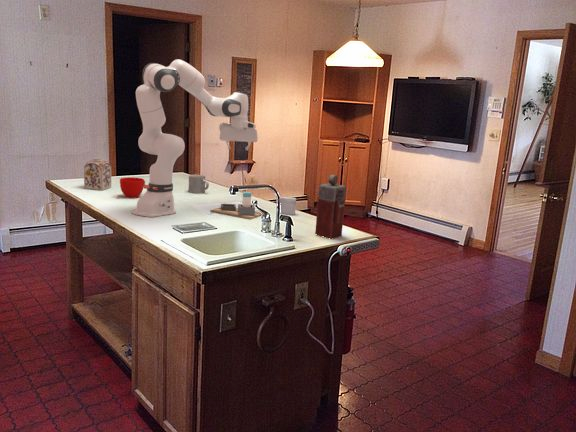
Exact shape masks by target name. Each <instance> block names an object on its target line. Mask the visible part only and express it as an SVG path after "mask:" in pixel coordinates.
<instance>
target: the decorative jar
mask: <svg viewBox="0 0 576 432" xmlns="http://www.w3.org/2000/svg"><path fill="white" fill-rule="evenodd" d="M83 187H84V189H85V190H93V191H105V190H107V189H108V190H109V189H110V188H112V165H111V163H109V161H107V160H103V158H102V157H94V158H93V159H92V160H88V161H86V163H85V165H83Z"/></svg>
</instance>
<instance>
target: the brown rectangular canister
mask: <svg viewBox="0 0 576 432" xmlns="http://www.w3.org/2000/svg"><path fill="white" fill-rule="evenodd" d="M338 177H339V176H338V175H335V174H330V176H328V183H324V184H323V183H322V184H320V185H319V186H318V195H317V209H316V221H315V231H314V232H315V233H314V235H315V234H317V235H320V236H319V237H321V236H324V237H323V238H325V237H326V239H329V238H330V240H332V238H333V239H336V238H339V237H342V235H343V226H344V216H345V215H344V213H345V204H346V203H345V201H346V193H347V192H346V191H347V186H345V185H343V184H337V183H338V181H339V178H338ZM317 235H316V236H317Z"/></svg>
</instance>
